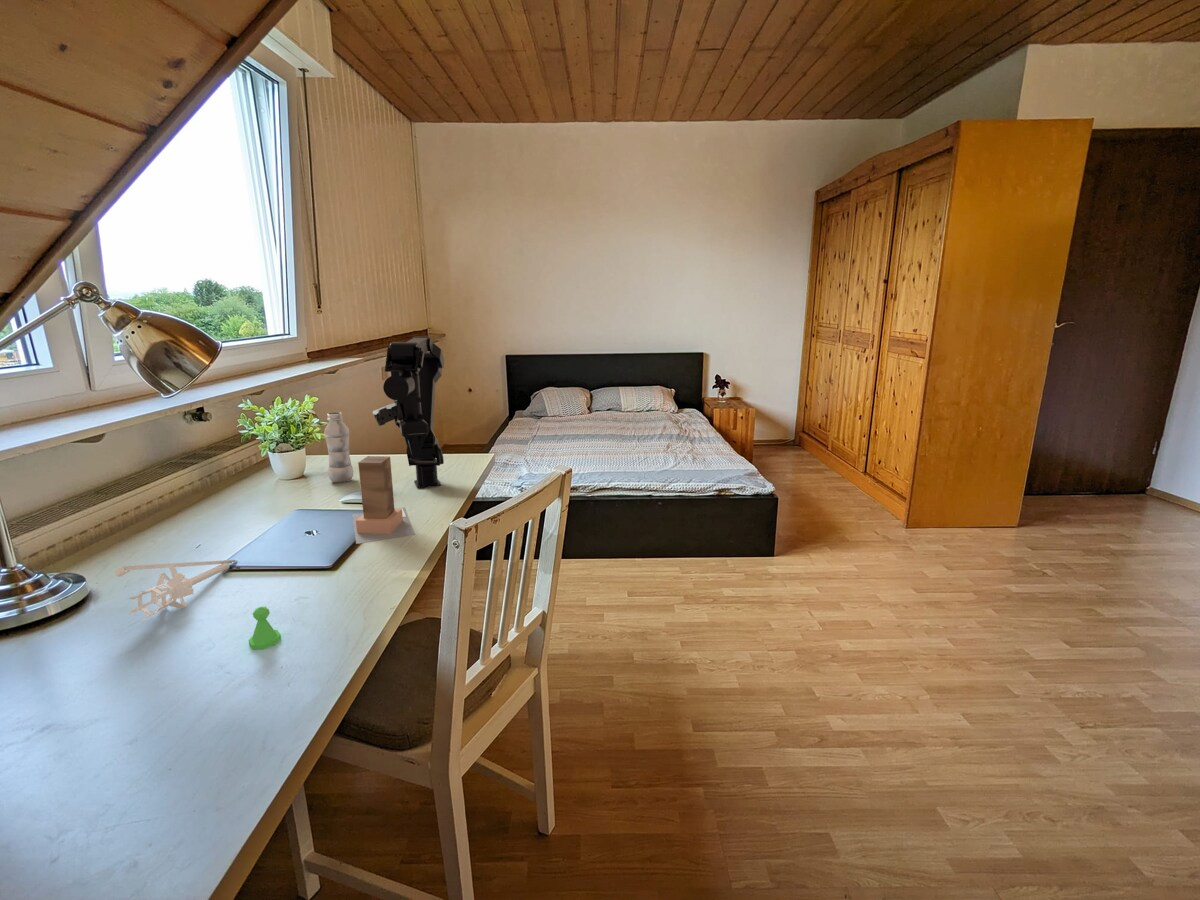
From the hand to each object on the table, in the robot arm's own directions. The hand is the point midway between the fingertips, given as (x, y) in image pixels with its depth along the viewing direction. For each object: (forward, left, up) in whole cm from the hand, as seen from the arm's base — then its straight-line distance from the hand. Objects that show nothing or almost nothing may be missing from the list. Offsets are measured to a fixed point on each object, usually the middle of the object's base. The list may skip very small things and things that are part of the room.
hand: (412, 453), depth 142 cm
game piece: (+54, -30, -13) cm, 63 cm away
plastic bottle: (-25, -17, -13) cm, 33 cm away
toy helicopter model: (+33, -43, -13) cm, 56 cm away
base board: (+15, -10, -13) cm, 22 cm away
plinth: (+16, -10, -12) cm, 23 cm away
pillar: (+16, -10, -9) cm, 21 cm away
